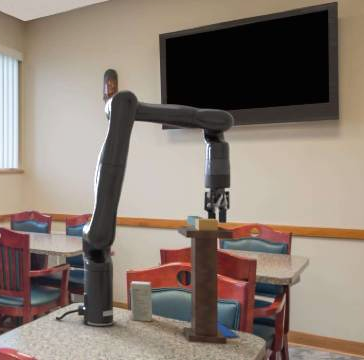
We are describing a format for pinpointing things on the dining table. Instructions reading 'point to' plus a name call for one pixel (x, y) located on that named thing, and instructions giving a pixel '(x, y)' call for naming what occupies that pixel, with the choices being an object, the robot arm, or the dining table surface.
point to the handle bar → (203, 223)
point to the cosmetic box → (141, 301)
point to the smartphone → (226, 331)
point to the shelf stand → (204, 283)
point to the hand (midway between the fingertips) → (217, 223)
